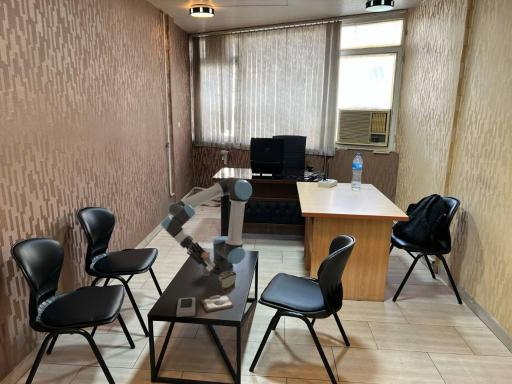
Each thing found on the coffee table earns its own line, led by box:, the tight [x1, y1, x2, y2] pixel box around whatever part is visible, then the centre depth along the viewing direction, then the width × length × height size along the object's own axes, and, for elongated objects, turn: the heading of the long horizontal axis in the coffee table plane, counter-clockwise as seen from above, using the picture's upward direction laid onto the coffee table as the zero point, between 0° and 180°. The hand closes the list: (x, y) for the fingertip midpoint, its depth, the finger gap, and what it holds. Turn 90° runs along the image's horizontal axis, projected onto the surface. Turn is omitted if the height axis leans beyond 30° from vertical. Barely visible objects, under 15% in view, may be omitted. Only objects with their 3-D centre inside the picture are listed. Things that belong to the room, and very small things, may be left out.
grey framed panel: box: [176, 297, 197, 318], centre depth 198 cm, size 10×4×15 cm
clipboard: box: [201, 294, 234, 313], centre depth 203 cm, size 12×15×2 cm
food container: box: [218, 270, 238, 294], centre depth 220 cm, size 12×6×10 cm, turn 134°
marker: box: [201, 251, 211, 277], centre depth 207 cm, size 5×5×13 cm
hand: (212, 268), depth 207 cm, fingers closed on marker, 4 cm apart
